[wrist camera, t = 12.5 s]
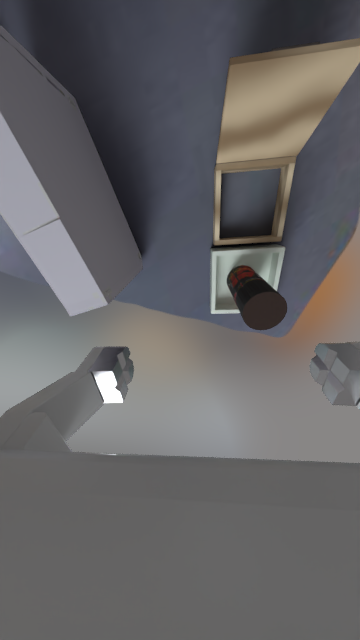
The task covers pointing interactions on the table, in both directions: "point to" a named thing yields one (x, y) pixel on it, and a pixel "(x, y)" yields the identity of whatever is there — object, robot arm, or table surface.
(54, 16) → the table surface
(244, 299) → the deodorant
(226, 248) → the tray
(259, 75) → the beige flat board
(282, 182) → the frame
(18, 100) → the game console
